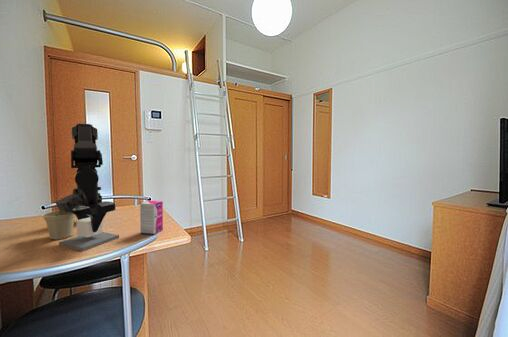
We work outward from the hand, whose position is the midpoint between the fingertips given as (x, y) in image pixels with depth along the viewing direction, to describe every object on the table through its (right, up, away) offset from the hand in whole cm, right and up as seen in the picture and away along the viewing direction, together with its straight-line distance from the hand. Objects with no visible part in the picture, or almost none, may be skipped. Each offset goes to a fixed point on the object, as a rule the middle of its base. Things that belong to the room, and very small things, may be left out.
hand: (89, 230), depth 79 cm
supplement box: (+17, -3, +9) cm, 20 cm away
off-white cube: (0, -1, 0) cm, 1 cm away
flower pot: (-13, -4, +5) cm, 15 cm away
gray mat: (0, -4, 0) cm, 4 cm away
